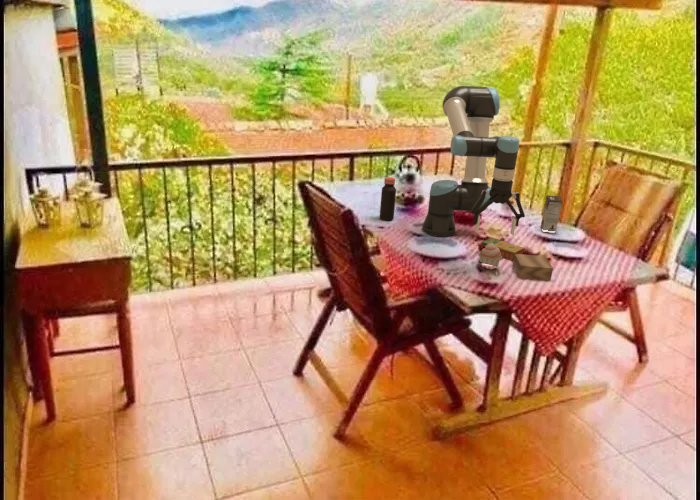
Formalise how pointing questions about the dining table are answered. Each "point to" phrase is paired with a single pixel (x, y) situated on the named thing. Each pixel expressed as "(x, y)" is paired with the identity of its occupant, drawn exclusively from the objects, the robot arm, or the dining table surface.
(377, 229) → the dining table surface
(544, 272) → the block
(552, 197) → the coffee box
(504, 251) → the carton
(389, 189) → the bottle
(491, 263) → the cupcake
